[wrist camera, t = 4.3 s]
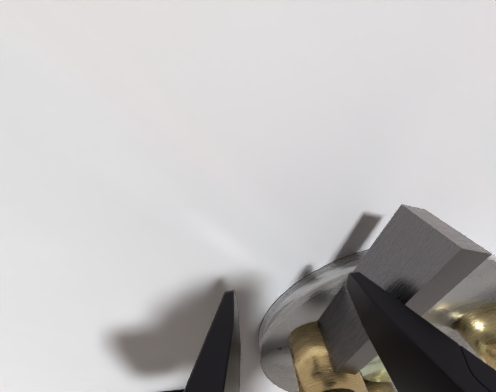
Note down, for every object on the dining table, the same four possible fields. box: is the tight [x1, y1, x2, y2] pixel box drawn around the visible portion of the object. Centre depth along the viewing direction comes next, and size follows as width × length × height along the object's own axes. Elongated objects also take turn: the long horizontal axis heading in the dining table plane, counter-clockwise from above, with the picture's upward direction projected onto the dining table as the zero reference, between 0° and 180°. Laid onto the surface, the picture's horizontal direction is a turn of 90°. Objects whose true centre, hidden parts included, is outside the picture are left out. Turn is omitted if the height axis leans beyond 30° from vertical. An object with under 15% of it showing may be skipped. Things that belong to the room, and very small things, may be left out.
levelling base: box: [259, 250, 496, 392], centre depth 15 cm, size 24×19×5 cm
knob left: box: [288, 205, 492, 392], centre depth 10 cm, size 12×4×4 cm, turn 166°
